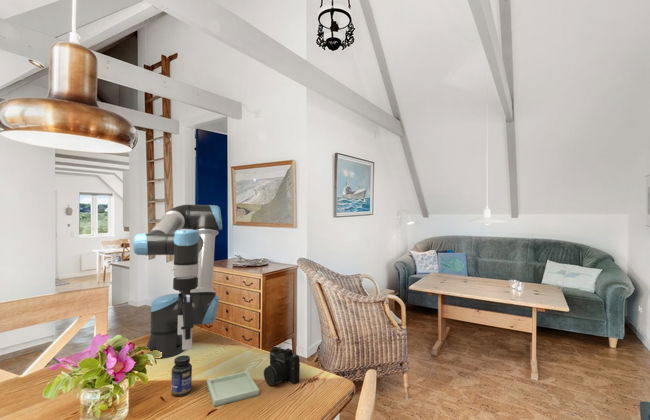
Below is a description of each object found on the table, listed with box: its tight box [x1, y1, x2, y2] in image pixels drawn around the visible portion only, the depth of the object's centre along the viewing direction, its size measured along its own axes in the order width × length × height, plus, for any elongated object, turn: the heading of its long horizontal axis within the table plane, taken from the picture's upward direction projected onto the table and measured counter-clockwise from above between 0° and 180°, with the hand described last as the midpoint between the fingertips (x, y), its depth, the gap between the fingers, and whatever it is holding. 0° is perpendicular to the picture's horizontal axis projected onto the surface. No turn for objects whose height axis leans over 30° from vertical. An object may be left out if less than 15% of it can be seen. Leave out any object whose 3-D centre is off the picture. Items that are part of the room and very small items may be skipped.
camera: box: [263, 346, 301, 386], centre depth 115 cm, size 14×11×10 cm
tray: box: [206, 370, 260, 408], centre depth 108 cm, size 14×14×2 cm
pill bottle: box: [170, 355, 193, 397], centre depth 106 cm, size 6×6×11 cm
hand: (184, 341), depth 106 cm, fingers open, 13 cm apart
